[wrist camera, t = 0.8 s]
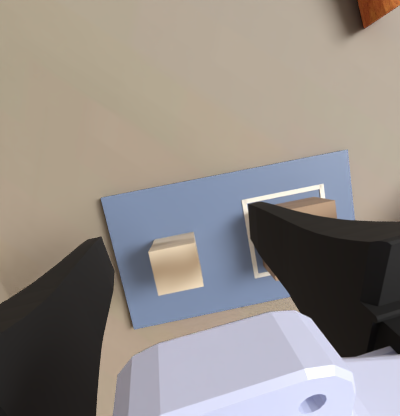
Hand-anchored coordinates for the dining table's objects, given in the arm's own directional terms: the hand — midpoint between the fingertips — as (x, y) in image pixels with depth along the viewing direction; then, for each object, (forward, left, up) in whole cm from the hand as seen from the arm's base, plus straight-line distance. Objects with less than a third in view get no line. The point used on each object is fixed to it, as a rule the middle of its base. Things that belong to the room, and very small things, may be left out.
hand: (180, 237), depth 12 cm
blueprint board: (-6, -5, -16) cm, 18 cm away
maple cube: (-6, +2, -15) cm, 16 cm away
